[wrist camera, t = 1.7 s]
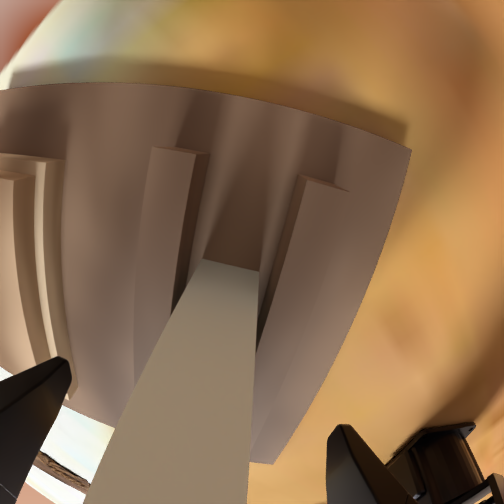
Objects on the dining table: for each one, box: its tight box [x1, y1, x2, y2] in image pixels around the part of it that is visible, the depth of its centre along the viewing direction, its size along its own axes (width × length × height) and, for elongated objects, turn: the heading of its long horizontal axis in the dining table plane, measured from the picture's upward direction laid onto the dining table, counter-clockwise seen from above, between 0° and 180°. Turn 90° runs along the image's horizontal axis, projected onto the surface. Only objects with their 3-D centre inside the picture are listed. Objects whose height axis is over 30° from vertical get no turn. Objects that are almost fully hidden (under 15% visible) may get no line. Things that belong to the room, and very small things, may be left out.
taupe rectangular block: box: [83, 259, 259, 504], centre depth 7 cm, size 2×7×9 cm, turn 167°
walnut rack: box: [0, 82, 412, 464], centre depth 11 cm, size 18×18×3 cm
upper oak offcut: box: [0, 170, 51, 375], centre depth 9 cm, size 4×10×1 cm, turn 167°
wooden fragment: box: [33, 450, 90, 495], centre depth 20 cm, size 26×11×1 cm, turn 41°
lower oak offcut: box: [0, 153, 78, 401], centre depth 10 cm, size 5×12×1 cm, turn 167°
